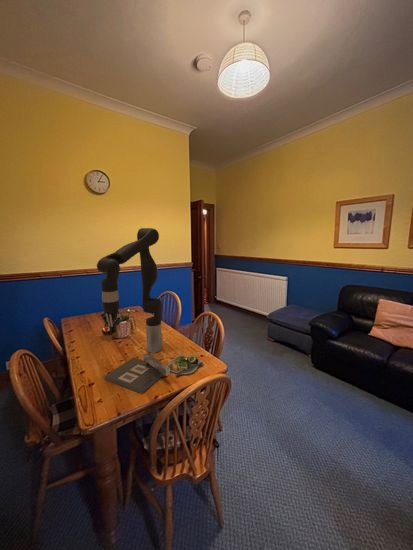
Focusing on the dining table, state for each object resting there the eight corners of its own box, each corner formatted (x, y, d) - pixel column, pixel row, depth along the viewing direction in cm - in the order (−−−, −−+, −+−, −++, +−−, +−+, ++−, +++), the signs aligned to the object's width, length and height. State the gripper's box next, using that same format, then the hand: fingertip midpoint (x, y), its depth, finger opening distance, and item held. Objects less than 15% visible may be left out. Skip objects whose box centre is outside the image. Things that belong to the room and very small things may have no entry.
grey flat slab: (133, 360, 132) (133, 353, 132) (168, 371, 122) (167, 364, 121) (104, 379, 115) (104, 371, 114) (141, 394, 104) (141, 385, 103)
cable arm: (142, 359, 125) (142, 354, 124) (148, 357, 127) (148, 352, 127) (164, 376, 110) (164, 370, 109) (171, 373, 112) (170, 367, 112)
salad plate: (190, 382, 113) (190, 373, 113) (159, 373, 120) (159, 365, 120) (205, 363, 131) (205, 355, 130) (178, 356, 138) (178, 349, 137)
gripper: (126, 299, 113) (128, 332, 116) (107, 296, 118) (109, 327, 121) (114, 303, 106) (117, 338, 109) (94, 299, 111) (97, 333, 114)
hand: (112, 332), depth 115 cm, fingers closed
